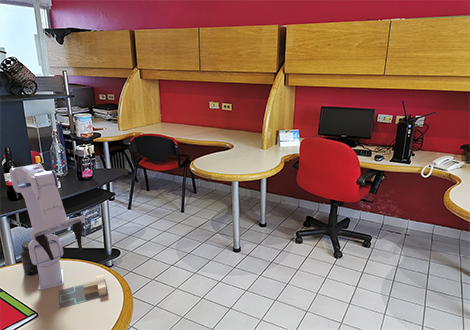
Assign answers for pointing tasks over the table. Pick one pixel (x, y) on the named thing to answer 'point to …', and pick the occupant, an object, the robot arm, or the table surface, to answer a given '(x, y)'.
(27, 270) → the supplement bottle
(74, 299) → the mat
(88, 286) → the t block
